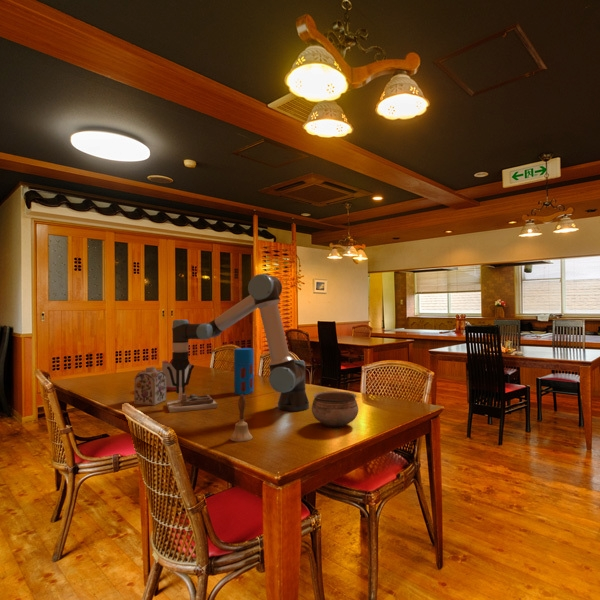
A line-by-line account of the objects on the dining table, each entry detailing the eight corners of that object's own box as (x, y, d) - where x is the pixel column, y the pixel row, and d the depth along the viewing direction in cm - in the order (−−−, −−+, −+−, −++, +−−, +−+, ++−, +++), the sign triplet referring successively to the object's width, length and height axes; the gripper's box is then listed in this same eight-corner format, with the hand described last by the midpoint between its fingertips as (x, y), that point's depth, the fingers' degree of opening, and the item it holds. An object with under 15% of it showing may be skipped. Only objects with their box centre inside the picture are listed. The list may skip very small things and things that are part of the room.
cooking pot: (337, 438, 146) (336, 404, 147) (297, 428, 158) (297, 397, 159) (370, 423, 166) (370, 393, 166) (333, 415, 178) (333, 388, 178)
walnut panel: (213, 402, 193) (213, 393, 194) (183, 405, 188) (183, 395, 188) (208, 397, 204) (208, 388, 205) (180, 400, 199) (180, 391, 199)
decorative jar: (154, 405, 198) (154, 369, 198) (133, 404, 200) (133, 368, 200) (167, 400, 209) (167, 366, 210) (147, 399, 212) (147, 365, 212)
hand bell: (253, 434, 151) (253, 392, 151) (251, 441, 143) (251, 397, 143) (231, 434, 151) (231, 392, 151) (228, 442, 142) (228, 397, 143)
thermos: (257, 392, 229) (257, 348, 229) (245, 395, 220) (245, 350, 220) (242, 390, 235) (242, 347, 235) (230, 393, 225) (230, 349, 226)
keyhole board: (217, 408, 192) (217, 397, 192) (169, 412, 184) (169, 401, 184) (211, 401, 207) (211, 391, 207) (166, 405, 198) (166, 394, 198)
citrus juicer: (181, 385, 251) (181, 353, 251) (193, 389, 238) (193, 355, 238) (156, 388, 241) (156, 355, 241) (167, 393, 227) (167, 358, 228)
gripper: (193, 349, 200) (192, 397, 199) (165, 351, 195) (165, 399, 194) (195, 351, 193) (195, 400, 192) (167, 352, 188) (166, 402, 187)
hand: (180, 399), depth 193 cm, fingers closed
